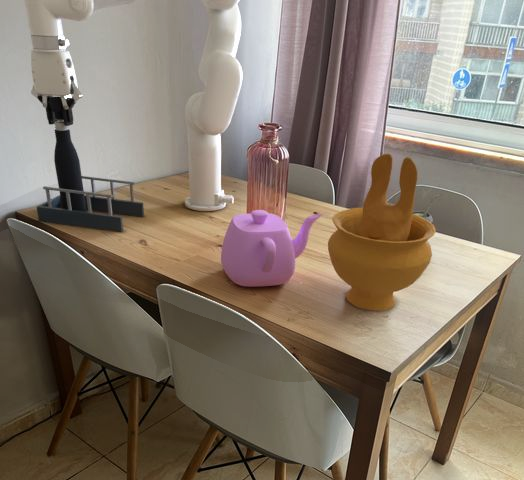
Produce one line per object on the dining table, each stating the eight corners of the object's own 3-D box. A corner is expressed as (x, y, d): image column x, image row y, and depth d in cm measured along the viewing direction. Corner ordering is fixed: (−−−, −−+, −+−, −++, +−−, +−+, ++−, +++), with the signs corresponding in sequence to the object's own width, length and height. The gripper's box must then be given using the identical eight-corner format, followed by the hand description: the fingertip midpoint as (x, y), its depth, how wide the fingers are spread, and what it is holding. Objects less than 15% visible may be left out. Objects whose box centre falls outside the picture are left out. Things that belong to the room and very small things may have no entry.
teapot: (231, 302, 114) (232, 233, 106) (215, 262, 132) (215, 200, 124) (334, 295, 119) (342, 229, 111) (306, 257, 137) (311, 197, 128)
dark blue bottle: (82, 216, 152) (65, 100, 136) (59, 216, 152) (39, 98, 136) (89, 209, 158) (73, 96, 142) (67, 208, 158) (48, 95, 142)
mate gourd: (403, 236, 152) (414, 182, 144) (432, 241, 150) (444, 186, 142) (400, 246, 146) (410, 189, 138) (430, 250, 144) (442, 194, 136)
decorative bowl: (304, 302, 116) (318, 156, 100) (348, 270, 131) (366, 139, 115) (398, 334, 106) (429, 177, 90) (434, 295, 121) (466, 155, 105)
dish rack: (144, 216, 158) (141, 182, 153) (121, 232, 146) (118, 196, 141) (66, 205, 162) (61, 173, 157) (38, 220, 151) (32, 185, 146)
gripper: (87, 45, 134) (97, 124, 144) (27, 41, 137) (41, 119, 147) (71, 46, 128) (82, 129, 138) (8, 43, 131) (24, 124, 141)
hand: (61, 123), depth 142 cm, fingers closed on dark blue bottle, 3 cm apart
